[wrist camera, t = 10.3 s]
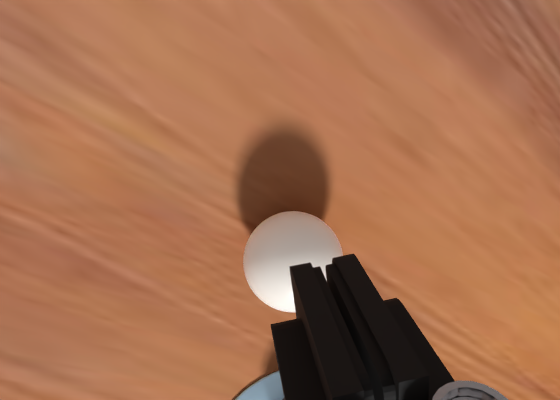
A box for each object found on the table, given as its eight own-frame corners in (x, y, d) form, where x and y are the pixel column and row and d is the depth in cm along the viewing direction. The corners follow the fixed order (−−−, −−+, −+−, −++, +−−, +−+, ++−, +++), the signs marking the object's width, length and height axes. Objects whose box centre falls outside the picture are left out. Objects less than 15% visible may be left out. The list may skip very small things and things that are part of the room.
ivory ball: (263, 343, 20) (253, 304, 25) (368, 309, 21) (337, 279, 26) (233, 235, 19) (230, 219, 25) (343, 204, 20) (316, 196, 25)
